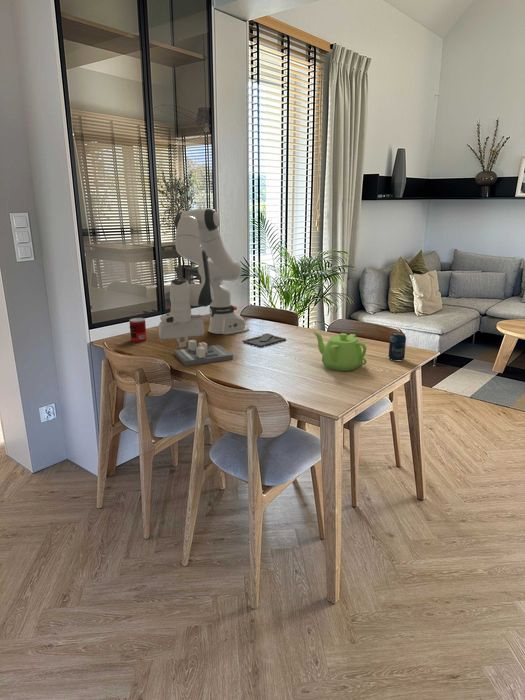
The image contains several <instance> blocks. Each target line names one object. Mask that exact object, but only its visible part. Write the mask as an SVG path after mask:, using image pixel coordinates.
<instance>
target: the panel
mask: <svg viewBox="0 0 525 700" xmlns="http://www.w3.org/2000/svg"><path fill="white" fill-rule="evenodd" d="M207 350H208V353H205V357H204V358H198V357H197V356H196V350H195V351H190V350H189V349H188V348H183V349H175V350H173V353H174V356H176V358H177V359H178V360H179V361H180V362H181V363H182V364H183V365H184V366H185V367H186V366H193V365H200V364H201V365H202V364H207V363H215V362H221V361H228V360H230V361H231V360H233V359H234V358H233V356H234V355H233V354H232V353H231V352H230V351H229V350H227V349H225V348H224V347H223V346H221V345H220V344H216V345H215V344H214V345H207Z"/></svg>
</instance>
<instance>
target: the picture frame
mask: <svg viewBox="0 0 525 700" xmlns="http://www.w3.org/2000/svg"><path fill="white" fill-rule="evenodd" d="M285 340H286V341H287V339H286V338H285V337H280V336H276V335H274V334H272V333H262V334H261V335H259V336H254V337H251V338H248V339H243V340H242V342H244V343H243V344H246V343H247V344H246V345H249V344H250V345H249V346H252V345H254V346H253V347H256V346H257V347H256V348H259V347H262V348H265V347H264V346H266V347H268V345H269V346H272V345H271V344H273V345H276V344H279V343H278V342H280V343H282V342H281V341H283V342H286V341H285ZM242 342H241V343H242ZM275 343H276V344H275Z"/></svg>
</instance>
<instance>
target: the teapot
mask: <svg viewBox="0 0 525 700" xmlns="http://www.w3.org/2000/svg"><path fill="white" fill-rule="evenodd" d="M312 334H314V335H315V337H316V339H317V347H318V351H319V353H320V354H321V356H322V357H321V362H322V364H323V366H324V367H325V368H327V369H331V370H335V371H339V372H340V371H341V372H350V371H353V370H356V369H358V368H359V367H360V366H365V365H366V364H367V362H368V361H367V358H364V357H365V355H366V352H367V345H366V344H365V343H364V342H362V341H361V342H360V341H359V339H358V338H357V335H356V334H354V333H350V334H348V333H344V332H341V333H339V334H338V335H334V336H332V337H330V338H329V339H328V341H327V343H326V344H325V343H324V340H323V337H322V335H321V334H320V333H319V332H315V331H312Z"/></svg>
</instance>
